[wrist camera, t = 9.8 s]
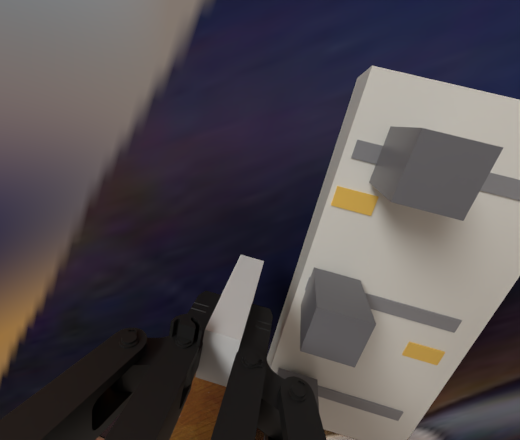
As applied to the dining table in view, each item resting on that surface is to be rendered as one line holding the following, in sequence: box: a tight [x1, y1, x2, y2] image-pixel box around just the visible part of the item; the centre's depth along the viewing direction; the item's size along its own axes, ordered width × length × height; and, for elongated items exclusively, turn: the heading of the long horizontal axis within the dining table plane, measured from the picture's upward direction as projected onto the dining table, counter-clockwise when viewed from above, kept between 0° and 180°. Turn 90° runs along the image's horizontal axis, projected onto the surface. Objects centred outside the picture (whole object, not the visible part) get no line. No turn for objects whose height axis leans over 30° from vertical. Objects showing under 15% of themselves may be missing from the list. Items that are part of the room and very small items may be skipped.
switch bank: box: [267, 66, 520, 440], centre depth 20 cm, size 12×26×4 cm, turn 167°
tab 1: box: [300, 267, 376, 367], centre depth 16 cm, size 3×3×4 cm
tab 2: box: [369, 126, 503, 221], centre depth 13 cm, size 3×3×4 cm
